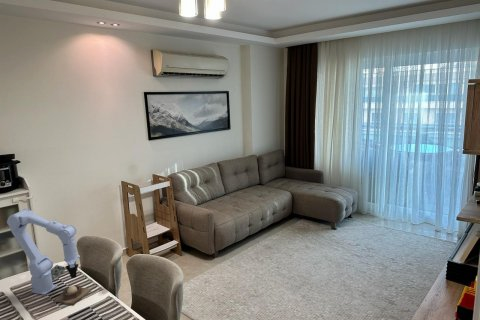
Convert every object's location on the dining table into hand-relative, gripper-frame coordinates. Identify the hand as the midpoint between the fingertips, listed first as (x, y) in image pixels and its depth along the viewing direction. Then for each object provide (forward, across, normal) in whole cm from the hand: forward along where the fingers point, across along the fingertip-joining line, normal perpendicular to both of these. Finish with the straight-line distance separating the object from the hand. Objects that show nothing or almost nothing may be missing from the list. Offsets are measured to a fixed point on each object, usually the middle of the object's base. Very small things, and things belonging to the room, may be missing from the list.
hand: (73, 274), depth 165 cm
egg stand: (+9, -5, +2) cm, 11 cm away
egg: (+6, -6, +2) cm, 8 cm away
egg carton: (+10, +23, +9) cm, 27 cm away
